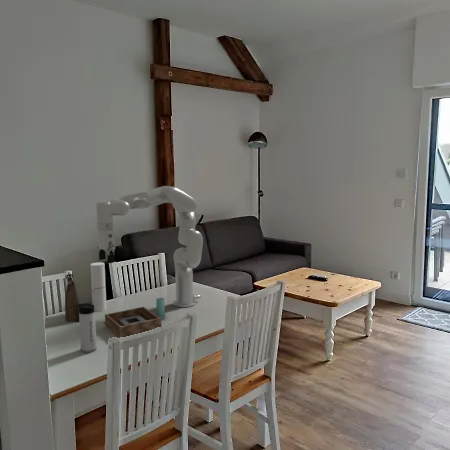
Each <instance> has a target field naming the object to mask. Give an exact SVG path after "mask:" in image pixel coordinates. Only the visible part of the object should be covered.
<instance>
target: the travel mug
mask: <svg viewBox="0 0 450 450" xmlns="http://www.w3.org/2000/svg"><path fill="white" fill-rule="evenodd" d="M78 306H79V321H80V322H79V338H80V351H81V352H82V353H85V354H89V353H90V354H91V353H94V352H95V351H97V333H96V332H97V330H96V312H95V310H94V309H95V308H94V305H93V304H92V303H90V302H89V303H88V302H86V303H85V302H84V303H79V305H78Z"/></svg>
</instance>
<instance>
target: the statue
mask: <svg viewBox="0 0 450 450" xmlns="http://www.w3.org/2000/svg"><path fill="white" fill-rule="evenodd" d="M64 278H65V279H66V283H67V284H66V289H65V297H64V315H65V316H64V317H65V320H66V321H67V322H69V323H70V322H71V323H80V321H79V306H78V305H79V304H80V299H79V294H78V291H77V290H78V289H77V287H76V284H75V281H74V280H73V279H74V274H71V273H70V271H68V272H67V274H65V275H64Z"/></svg>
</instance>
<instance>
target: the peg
mask: <svg viewBox="0 0 450 450" xmlns="http://www.w3.org/2000/svg"><path fill="white" fill-rule="evenodd" d="M155 301H156V303H155V304H156V315H157V316H159V317H160V318H161V321H162V320H165V317H166V314H165V311H166V310H165V298H163V297H158V298H156V300H155Z"/></svg>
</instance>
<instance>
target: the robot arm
mask: <svg viewBox="0 0 450 450" xmlns="http://www.w3.org/2000/svg"><path fill="white" fill-rule="evenodd" d="M164 203H165V204H166V203H170V204H171V205H172V207H173V209H174V210H175V211H176V212H177V214H178V215H179V227H178V228H179V229H178V237H177V238H178V239H177V240H178V242H179V244H181V245H183V246H185V247H179V248H177V249H175V251H174V253H173V263H174V271H175V273H174V274H175V299H174V300H173V302H172V304H173V306H174V307H177V308H188V307H189V308H190V307H193V306H195V305H196V300H197V299H198V300H199V299H201V298H202V297H201V295H200V294H197V295H196V294H194V286H193V285H194V282H193V281H194V277H193V276H194V273H193V269H195V268H197V267H198V266H199V265H200V263H201V261H202V252H203V245H204V237H203V234H202V233H201V232H200V231H198V230H196V222H197V221H196V220H197V219H196V214H195V211H196V210H197V205H198V203H197V201H196V199H194V197H192V196H190V195H189V194H187V193H186V192H184V191H182V190H180V189H179V188H177V187H176V186H170V185H169V186H168V185H162V186H159V187H156V188H152V189H149V190H146V191H140V192H136V193H133V194H127V195H123V196H120V197H115V198H113V199H111V200H100V201H98V202H96V227H97V228H96V230H97V248H98V260H100V261H102V260H103V261H104V260H106V252H107V264H115V253H116V251H115V250H116V239H115V232H114V216H118V217H122V216H126V215H128V213H130V211H131V210H135V209H139V210H140V209H142V210H143V209H148V208H152V207H155V206H159V205H162V204H164Z"/></svg>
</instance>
